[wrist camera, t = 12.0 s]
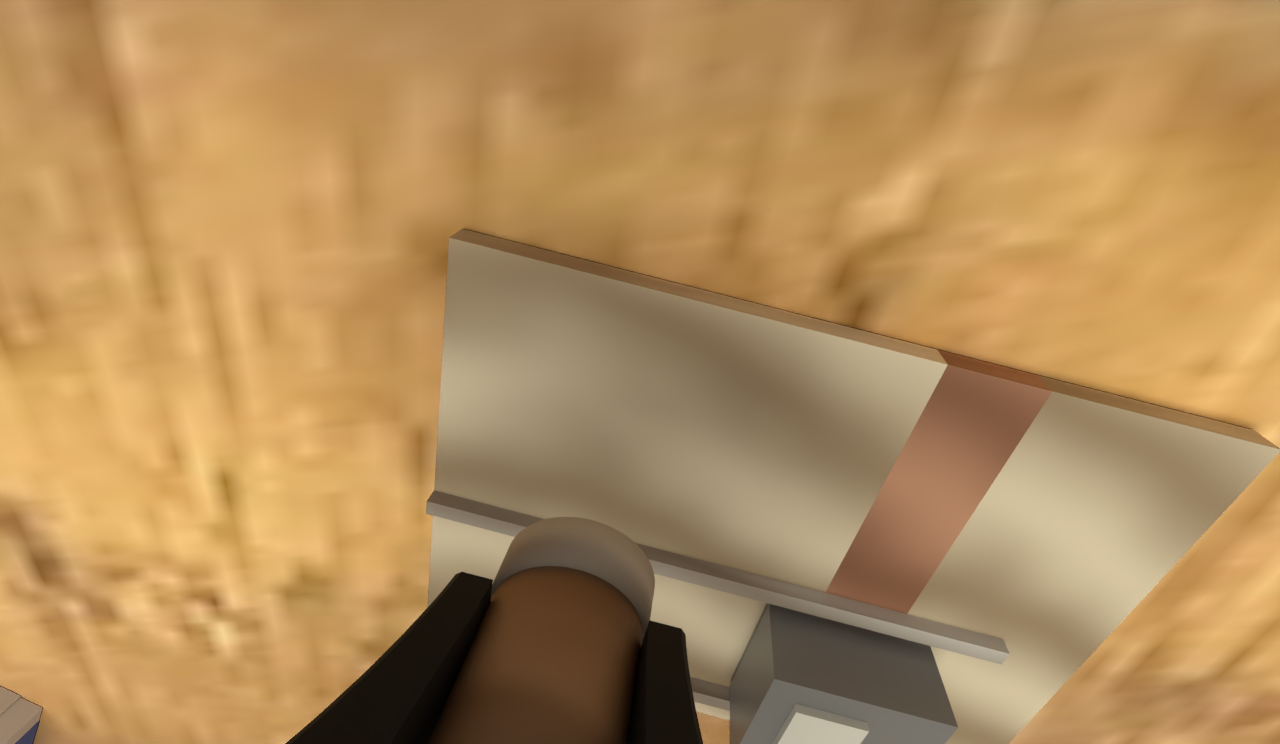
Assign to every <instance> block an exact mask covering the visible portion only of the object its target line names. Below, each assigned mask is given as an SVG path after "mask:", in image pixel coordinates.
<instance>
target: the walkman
mask: <svg viewBox="0 0 1280 744" xmlns="http://www.w3.org/2000/svg"><path fill="white" fill-rule="evenodd" d="M42 709H43V708H42V707H40V706H38V705H36V704H34V703H31V702H29V701H27V700H25V699H23V698H21V696H20V695H18V694H16V693H14V692H12V691H9V690H7V689H5V688H3V687H1V686H0V744H32V743H33V740H34V737H35V734H36V730H37V727H38V724H39V719H40V715H41V712H42Z"/></svg>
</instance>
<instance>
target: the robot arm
mask: <svg viewBox="0 0 1280 744" xmlns="http://www.w3.org/2000/svg"><path fill="white" fill-rule="evenodd" d="M492 583H493V580H492V579H488V578H485V577H481V576H477V575H473V574H469V573H465V572H460V573H457V574H455V576H454V577H453V578H452V579H451V581H450V582H449V583H448V584H447V586H446V587H445V588H444V589H443V590H442V592H441V593H440V594H439V595H438V596H437V598H436V599H435V600H434V601H433V602H432V603H431V604H430V606H429V607H428V608H427V609H426V610H425V611H424V612H423V613H422V615H421V616H420V617H419V618H418V619H417V620H416V621H415V622H414V623H413V624H412V625H411V626H410V627H409V629H408V630H407V631H406V632H405V633H404V634H403V635H402V636H401V637H400V638H399V639H398V640H397V641H396V642H395V643H394V644H393V645H392V646H391V647H390V648H389V649H388V650H387V651H386V652H385V653H384V654H383V655H382V656H381V657H380V658H379V659H378V660H377V661H376V662H375V663H374V664H373V665H372V666H371V667H370V668H369V669H368V670H367V671H366V672H365V673H364V674H363V675H362V676H361V677H360V678H359V679H358V680H356V681H355V682H354V683H353V684H352V685H351V686H350V687H349V688H348V689H347V690H346V691H345V692H343V693H342V694H341V695H340V696H339V697H338V698H337V699H336V700H335V701H334V702H333V703H331V704H330V705H329V706H328V707H327V708H326V709H325V710H324V711H323V712H322V713H321V714H319V715H318V716H317V717H316V718H315V719H314V720H313V721H311V722H310V723H309V724H308V725H307V726H306V727H304V728H303V729H302V730H301V731H300V732H299V733H298V734H296V735H295V736H294V737H293V738H292V739H290V740H289V741H288V742H287V743H286V744H428V742H429V740H430V738H431V735H432V733H433V731H434V728H435V726H436V724H437V722H438V719H439V717H440V715H441V713H442V710H443V708H444V706H445V703H446V701H447V699H448V697H449V694H450V692H451V690H452V688H453V685H454V683H455V681H456V678H457V676H458V674H459V672H460V669H461V667H462V665H463V663H464V660H465V658H466V656H467V654H468V651H469V649H470V647H471V644H472V642H473V640H474V638H475V635H476V633H477V631H478V629H479V626H480V624H481V622H482V619H483V617H484V615H485V613H486V610H487V608H488V606H489V604H490V599H491V591H492ZM626 744H703V741H702V737H701V732H700V728H699V723H698V718H697V713H696V708H695V703H694V697H693V692H692V686H691V680H690V673H689V666H688V658H687V649H686V635H685V633H684V631H683V630H682V629H681V628H678V627H674V626H670V625H666V624H662V623H658V622H654V621H651V620H649V623H648V626H647V629H646V633H645V636H644V639H643V642H642V645H641V649H640V655H639V662H638V668H637V675H636V681H635V688H634V695H633V701H632V708H631V715H630V721H629V728H628V734H627V741H626Z"/></svg>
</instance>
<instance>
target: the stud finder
mask: <svg viewBox="0 0 1280 744" xmlns="http://www.w3.org/2000/svg"><path fill="white" fill-rule="evenodd" d="M957 729H958V725H957V722H956V719H955V716H954V713H953V711H952V708H951V705H950V702H949V699H948V696H947V693H946V690H945V687H944V684H943V681H942V679H941V676H940V673H939V670H938V667H937V664H936V661H935V658H934V655H933V652H932V650H931V647H930V646H928V645H925V644H921V643H917V642H913V641H909V640H906V639H902V638H898V637H894V636H890V635H886V634H883V633H879V632H875V631H871V630H867V629H864V628H860V627H856V626H852V625H848V624H845V623H841V622H837V621H833V620H829V619H825V618H822V617H818V616H814V615H810V614H806V613H803V612H799V611H795V610H791V609H787V608H784V607H780V606H776V605H772V604H768V606H767V608H766V610H765V612H764V614H763V616H762V619H761V621H760V623H759V625H758V627H757V629H756V631H755V633H754V635H753V637H752V640H751V642H750V644H749V646H748V648H747V650H746V652H745V654H744V656H743V658H742V660H741V663H740V665H739V667H738V669H737V671H736V673H735V675H734V677H733V679H732V681H731V684H730V744H945V743H946V742H947V741H948V739H949V738H950V737H951V736H952V735H953V733H954V732H955V731H956V730H957Z"/></svg>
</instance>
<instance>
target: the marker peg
mask: <svg viewBox="0 0 1280 744" xmlns="http://www.w3.org/2000/svg"><path fill="white" fill-rule="evenodd" d="M654 589H655V578H654V572H653V569H652V566H651V564H650V562H649V560H648V558H647V556H646V555H645V554H644V552H643V551H642V550H641V549H640V547H639V546H638V545H637V544H636V543H635V542H633V541H632V540H631V539H630V538H629V537H627V536H626V535H624V534H623V533H621V532H620V531H618V530H616V529H614V528H612V527H610V526H608V525H605V524H603V523H600V522H597V521H594V520H589V519H585V518H578V517H556V518H549V519H545V520H541V521H538V522H536V523H533V524H531V525H529V526H528V527H526V528H525V529H523V530H522V531H520V532H519V533H518V534H517V536H516V537H515V538H514V539H513V541H512V542H511V544H510V546H509V548H508V551H507V553H506V555H505V557H504V559H503V562H502V564H501V566H500V568H499V571H498V573H497V575H496V577H495V579H494V582H493V584H492V591H491V599H490V604H489V606H488V608H487V610H486V613H485V615H484V617H483V619H482V622H481V624H480V626H479V629H478V631H477V633H476V635H475V638H474V640H473V642H472V644H471V647H470V649H469V651H468V654H467V656H466V658H465V660H464V663H463V665H462V667H461V669H460V672H459V674H458V676H457V678H456V681H455V683H454V685H453V688H452V690H451V692H450V694H449V697H448V699H447V701H446V703H445V706H444V708H443V710H442V713H441V715H440V717H439V719H438V722H437V724H436V726H435V728H434V731H433V733H432V735H431V738H430V740H429V742H428V744H626V741H627V734H628V728H629V721H630V715H631V708H632V701H633V695H634V688H635V681H636V675H637V668H638V662H639V655H640V649H641V645H642V642H643V639H644V636H645V633H646V629H647V626H648V623H649V620H650V617H651V610H652V603H653V596H654Z"/></svg>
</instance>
